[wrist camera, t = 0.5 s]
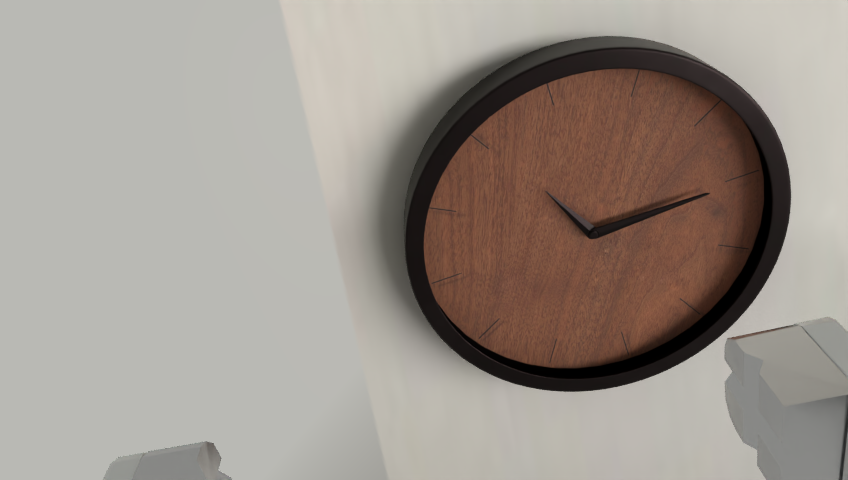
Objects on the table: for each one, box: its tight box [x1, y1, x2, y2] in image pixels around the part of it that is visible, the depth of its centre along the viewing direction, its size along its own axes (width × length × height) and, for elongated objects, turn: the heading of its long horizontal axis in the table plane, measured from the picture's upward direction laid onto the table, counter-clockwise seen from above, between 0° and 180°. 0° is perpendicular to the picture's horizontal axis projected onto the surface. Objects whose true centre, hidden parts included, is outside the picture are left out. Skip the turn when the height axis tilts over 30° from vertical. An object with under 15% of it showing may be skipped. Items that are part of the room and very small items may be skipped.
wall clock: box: [404, 36, 791, 392], centre depth 58 cm, size 31×4×31 cm
